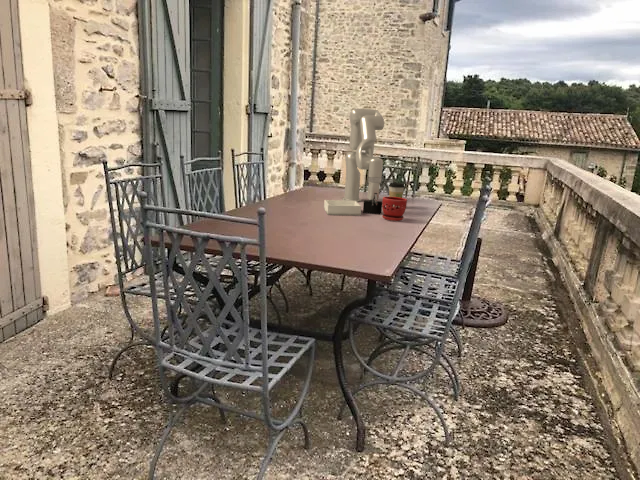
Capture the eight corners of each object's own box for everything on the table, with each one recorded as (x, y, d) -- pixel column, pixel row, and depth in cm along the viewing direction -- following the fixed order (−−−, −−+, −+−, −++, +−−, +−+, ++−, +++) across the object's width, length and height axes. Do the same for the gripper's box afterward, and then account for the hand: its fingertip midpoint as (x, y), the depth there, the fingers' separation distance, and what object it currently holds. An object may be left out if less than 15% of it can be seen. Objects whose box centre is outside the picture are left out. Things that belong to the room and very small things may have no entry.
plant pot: (404, 222, 258) (406, 200, 255) (380, 220, 260) (381, 198, 257) (405, 218, 270) (407, 197, 267) (382, 216, 273) (383, 195, 270)
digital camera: (381, 212, 282) (382, 201, 280) (380, 214, 277) (381, 202, 275) (364, 211, 284) (365, 199, 282) (362, 213, 279) (363, 201, 277)
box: (324, 209, 284) (324, 199, 283) (355, 210, 287) (355, 200, 285) (327, 214, 268) (328, 205, 267) (360, 215, 271) (361, 206, 269)
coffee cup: (403, 209, 297) (406, 184, 294) (387, 208, 298) (389, 184, 294) (401, 206, 307) (403, 182, 303) (386, 205, 307) (388, 181, 303)
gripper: (365, 177, 284) (363, 207, 288) (371, 181, 267) (369, 213, 272) (377, 178, 285) (375, 208, 289) (384, 182, 268) (382, 214, 273)
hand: (372, 210), depth 280 cm, fingers closed on digital camera, 6 cm apart
